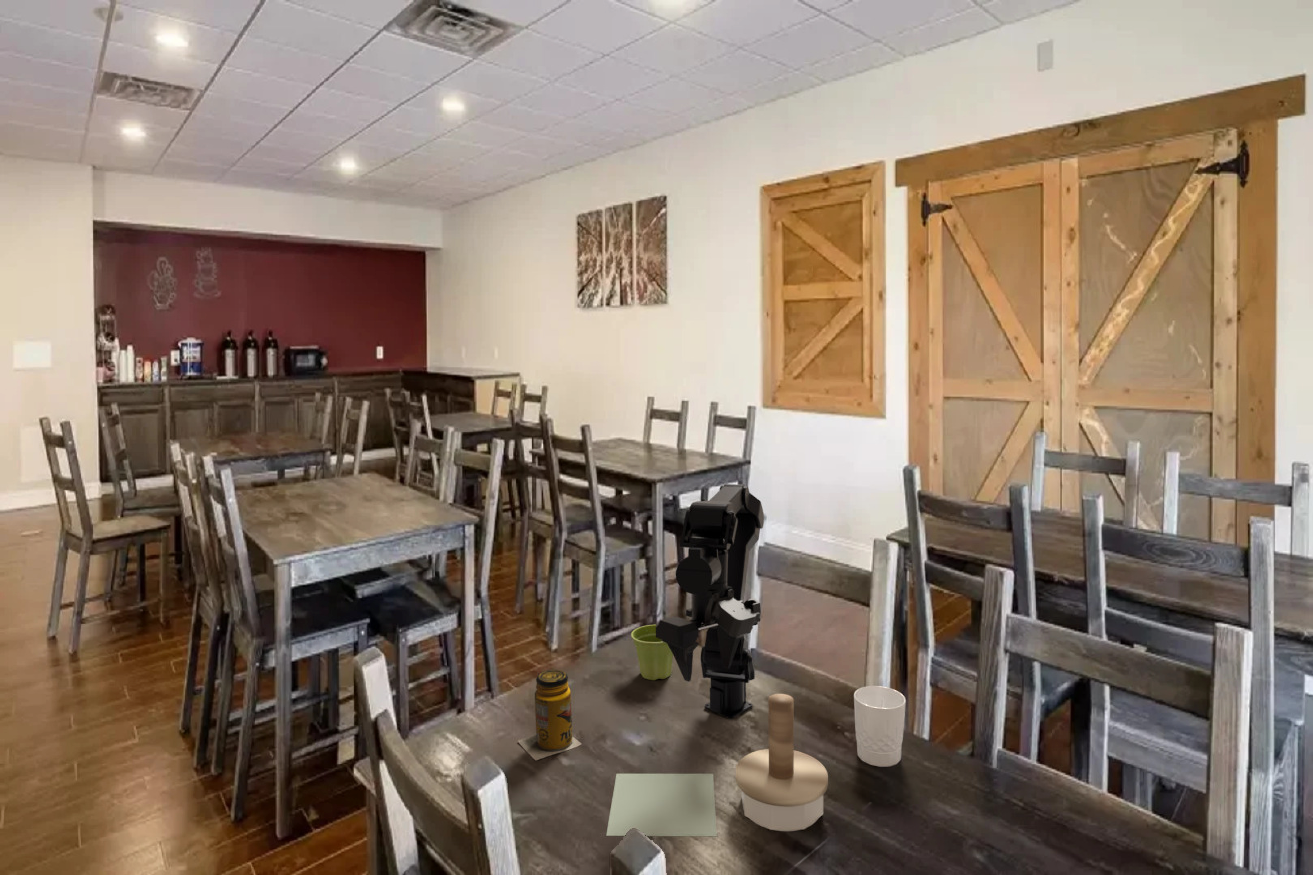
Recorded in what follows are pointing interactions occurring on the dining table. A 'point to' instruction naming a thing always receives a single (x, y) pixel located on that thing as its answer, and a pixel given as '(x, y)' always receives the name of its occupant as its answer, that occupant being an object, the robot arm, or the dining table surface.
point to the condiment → (551, 716)
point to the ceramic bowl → (782, 814)
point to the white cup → (879, 725)
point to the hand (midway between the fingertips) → (707, 674)
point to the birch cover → (781, 764)
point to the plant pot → (652, 653)
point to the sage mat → (663, 805)
